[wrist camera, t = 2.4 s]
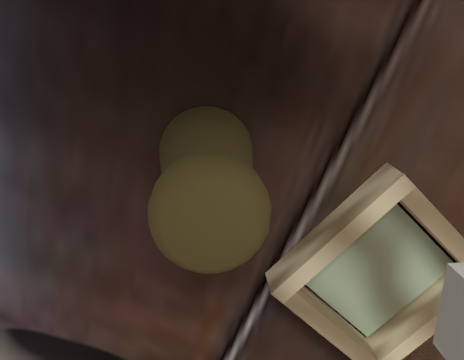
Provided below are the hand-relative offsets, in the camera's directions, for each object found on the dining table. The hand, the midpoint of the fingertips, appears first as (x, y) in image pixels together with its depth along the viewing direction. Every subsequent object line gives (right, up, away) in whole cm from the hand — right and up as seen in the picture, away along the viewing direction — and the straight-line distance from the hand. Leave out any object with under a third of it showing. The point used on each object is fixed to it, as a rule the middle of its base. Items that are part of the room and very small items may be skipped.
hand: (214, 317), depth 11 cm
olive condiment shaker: (-1, +6, +15) cm, 16 cm away
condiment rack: (+15, -6, +20) cm, 25 cm away
